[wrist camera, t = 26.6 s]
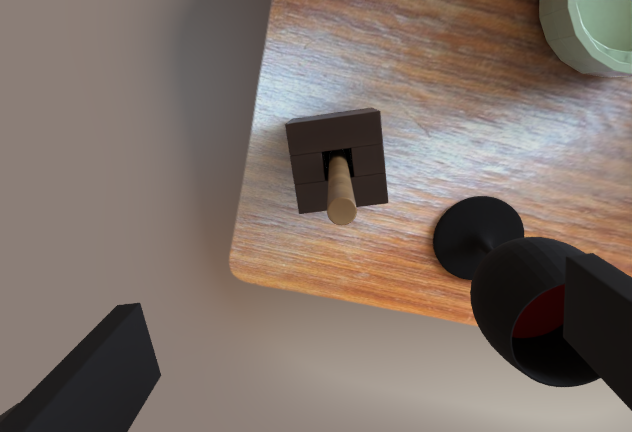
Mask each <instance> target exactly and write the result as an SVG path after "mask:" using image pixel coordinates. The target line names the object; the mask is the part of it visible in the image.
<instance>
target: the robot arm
mask: <svg viewBox="0 0 632 432" xmlns="http://www.w3.org/2000/svg"><path fill="white" fill-rule="evenodd" d="M563 338H564V339H565V340H566V341H567V342H568V343H569V344H570V345H571V346H572V347H573V348H574V349H575V350H576V351H577V353H578V354H579V355H580V356H581V357H582V358H583V359H584V360H585V361H586V362H587V363H588V364H589V365H590V366H591V368H592V369H593V370H594V371H595V372H596V373H597V374H598V375H599V376H600V377H601V378H602V379H603V380H604V382H605V383H606V384H607V385H608V386H609V387H610V388H611V389H612V390H613V391H614V392H615V393H616V394H617V395H618V397H619V398H620V399H621V400H622V401H623V402H624V403H625V404H626V405H627V406H628V407H629V408H630V409H631V410H632V277H630V276H629V275H627V274H625V273H624V272H622V271H621V270H619V269H617V268H616V267H614V266H613V265H611V264H609V263H608V262H606V261H605V260H603V259H601V258H600V257H598V256H597V255H595V254H594V253H590V254H581V255H572V256H566V269H565V297H564V324H563ZM160 376H161V373H160V370H159V366H158V363H157V359H156V356H155V353H154V349H153V346H152V342H151V339H150V335H149V332H148V328H147V325H146V322H145V318H144V315H143V311H142V308H141V304H140V303H134V304H124V305H117V306H116V307H115V308H114V309H113V310H112V311H111V312H110V313H109V314H108V315H107V316H106V317H105V318H104V319H103V320H102V321H101V322H100V323H99V324H98V325H97V326H96V327H95V328H94V329H93V330H92V331H91V332H90V333H89V334H88V335H87V336H86V337H85V338H84V339H83V340H82V341H81V342H80V343H79V344H78V345H77V346H76V347H75V348H74V349H73V350H72V351H71V352H70V353H69V354H68V355H67V356H66V357H65V358H64V359H63V360H62V361H61V362H60V363H59V364H58V365H57V366H56V367H55V368H54V369H53V370H52V371H51V372H50V373H49V374H48V375H47V376H46V377H45V378H44V379H43V380H42V381H41V382H40V383H39V384H38V385H37V386H36V388H34V389H33V390H32V391H31V392H30V394H28V395H27V396H26V397H25V398H24V399H23V400H22V401H21V402H20V403H18V404H16V405H15V406H13V407H12V408H10V409H9V410H8V411H6V412H5V413H3V414H2V415H0V432H127V431H128V430H129V428H130V426H131V425H132V423H133V421H134V420H135V418H136V416H137V414H138V413H139V411H140V410H141V408H142V406H143V405H144V403H145V401H146V400H147V398H148V396H149V395H150V393H151V391H152V390H153V388H154V386H155V385H156V383H157V381H158V380H159V378H160Z"/></svg>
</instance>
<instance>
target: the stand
mask: <svg viewBox="0 0 632 432" xmlns="http://www.w3.org/2000/svg"><path fill="white" fill-rule="evenodd" d="M285 127H286V133H287V139H288V146H289V152H290V159H291V165H292V171H293V178H294V184H295V190H296V197H297V203H298V209H299V214H303V213H311V212H319V211H327V202H328V178H329V168H326V162H325V154H324V151H331V150H339V149H346V148H349V150H350V159H351V165H348V169H349V174H350V179H351V184H352V189H353V194H354V198H355V203H356V207H360V206H368V205H377V204H385V203H388V193H387V182H386V173H385V172H386V171H385V160H384V150H383V138H382V128H381V117H380V111H379V110H376V109H374V108H367V109H360V110H352V111H345V112H338V113H331V114H324V115H317V116H310V117H303V118H296V119H292V120H290V121H289V122H288V123H286V124H285Z"/></svg>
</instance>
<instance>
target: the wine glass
mask: <svg viewBox="0 0 632 432" xmlns="http://www.w3.org/2000/svg"><path fill="white" fill-rule="evenodd" d="M433 246H434V251H435V255H436V257H437V259H438V261H439V262H440V264H441V265H442V266H443V267H444V268H445V269H446V270H447V271H448V272H450V273H451V274H453V275H455V276H457V277H459V278H462V279H467V280H472V282H471V291H470V295H471V306H472V310H473V314H474V317H475V319H476V321H477V324H478V326H479V328H480V330H481V331H482V333H483V335H484V336H485V337H486V339H487V340H488V342H489V343H490V344H491V346H492V347H493V348H494V349H495V350H496V351H497V352H498V353H499V354H500V355H501V356H502V357H503V358H504V359H505V360H506V361H508V362H509V363H510V364H511V365H512V366H514V367H515V368H517V369H518V370H519V371H521V372H522V373H524V374H525V375H527V376H528V377H530V378H531V379H533V380H535V381H537V382H539V383H542V384H545V385H548V386H555V387H573V386H579V385H584V384H587V383H590V382H593V381H595V380H597V379H599V378H601V377H600V376H599V375H598V374H597V373H596V372H595V371H594V370H593V369H592V368H591V366H590V365H589V364H588V363H587V362H586V361H585V360H584V359H583V358H582V357H581V356H580V355H579V354H578V353H577V351H576V350H575V349H574V348H573V347H572V346H571V345H570V344H569V343H568V342H567V341H566V340H565V339H564V338H563V324H564V297H565V269H566V256H572V255H581V254H586V253H584V252H582V251H581V250H579V249H577V248H575V247H573V246H571V245H569V244H567V243H564V242H561V241H557V240H554V239H549V238H542V237H525V238H524V228H523V223H522V221H521V218H520V217H519V215H518V213H517V212H516V211H515V210H514V209H513V208H512V207H511V206H510V205H508V204H507V203H505V202H504V201H502V200H500V199H497V198H494V197H488V196H478V197H471V198H468V199H465V200H463V201H460V202H458V203H457V204H455V205H454V206H452V207H451V208H450V209H449V210H447V211H446V212H445V214H444V215H443V216H442V217H441V219H440V220H439V222H438V224H437V226H436V228H435V232H434V238H433Z"/></svg>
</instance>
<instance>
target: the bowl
mask: <svg viewBox="0 0 632 432" xmlns="http://www.w3.org/2000/svg"><path fill="white" fill-rule="evenodd" d="M539 19H540V22H541V25H542V28H543V32H544V35H545V38H546V41H547V43H548V44H549V45H550V47H551V48H552V49H553V51H554V52H555V53H556V55H557V56H558V57H559V59H560V60H562V62H564V63H566V64H567V65H569V66H571V67H572V68H574V69H575V70H577V71H579V72H580V73H583V74H589V75H594V76H599V77H628V76H632V0H539Z"/></svg>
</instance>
